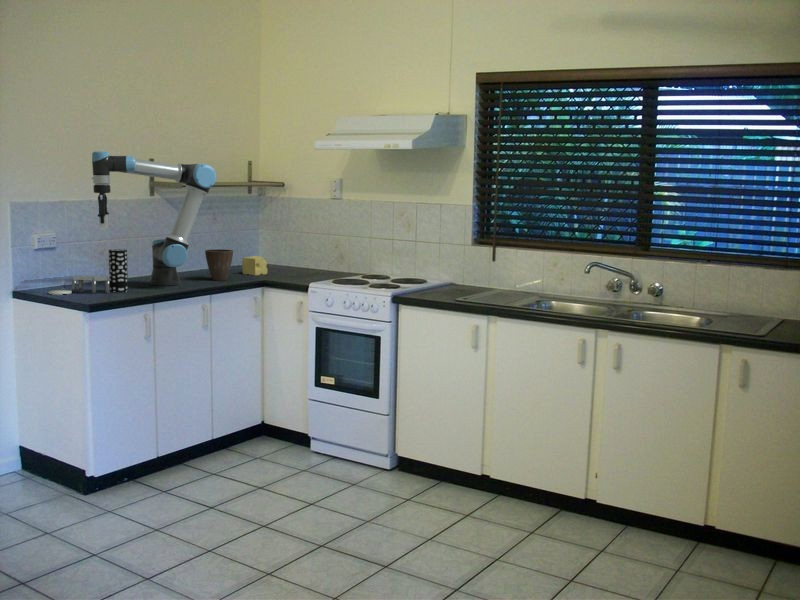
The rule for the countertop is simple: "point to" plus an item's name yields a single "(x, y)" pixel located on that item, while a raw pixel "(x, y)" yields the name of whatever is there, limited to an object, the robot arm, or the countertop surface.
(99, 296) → the countertop surface
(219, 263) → the plant pot
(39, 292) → the countertop surface
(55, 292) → the coaster
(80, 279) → the small grey table
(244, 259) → the cheese
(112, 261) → the spotted tube
